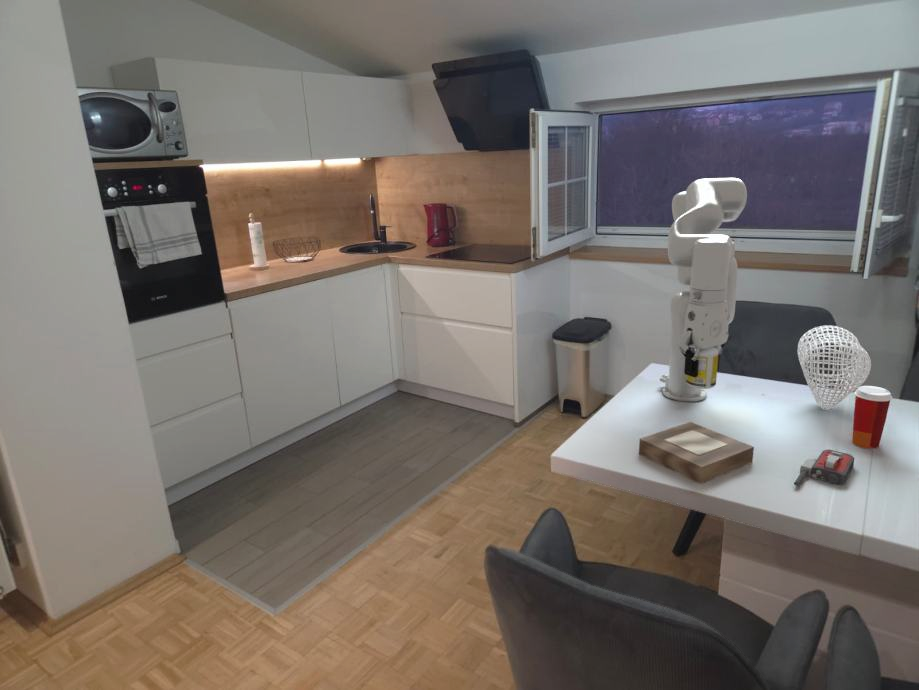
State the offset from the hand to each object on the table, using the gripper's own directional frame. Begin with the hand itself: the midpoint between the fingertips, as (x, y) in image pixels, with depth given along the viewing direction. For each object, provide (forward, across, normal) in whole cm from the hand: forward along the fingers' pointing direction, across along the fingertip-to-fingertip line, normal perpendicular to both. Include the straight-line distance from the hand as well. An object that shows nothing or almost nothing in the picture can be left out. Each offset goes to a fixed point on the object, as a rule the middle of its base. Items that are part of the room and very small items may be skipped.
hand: (701, 371), depth 144 cm
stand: (+22, 0, 0) cm, 22 cm away
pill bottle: (+3, 0, 0) cm, 3 cm away
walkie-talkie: (+22, +16, -22) cm, 35 cm away
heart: (+22, +54, 0) cm, 58 cm away
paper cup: (+22, +40, -18) cm, 49 cm away
